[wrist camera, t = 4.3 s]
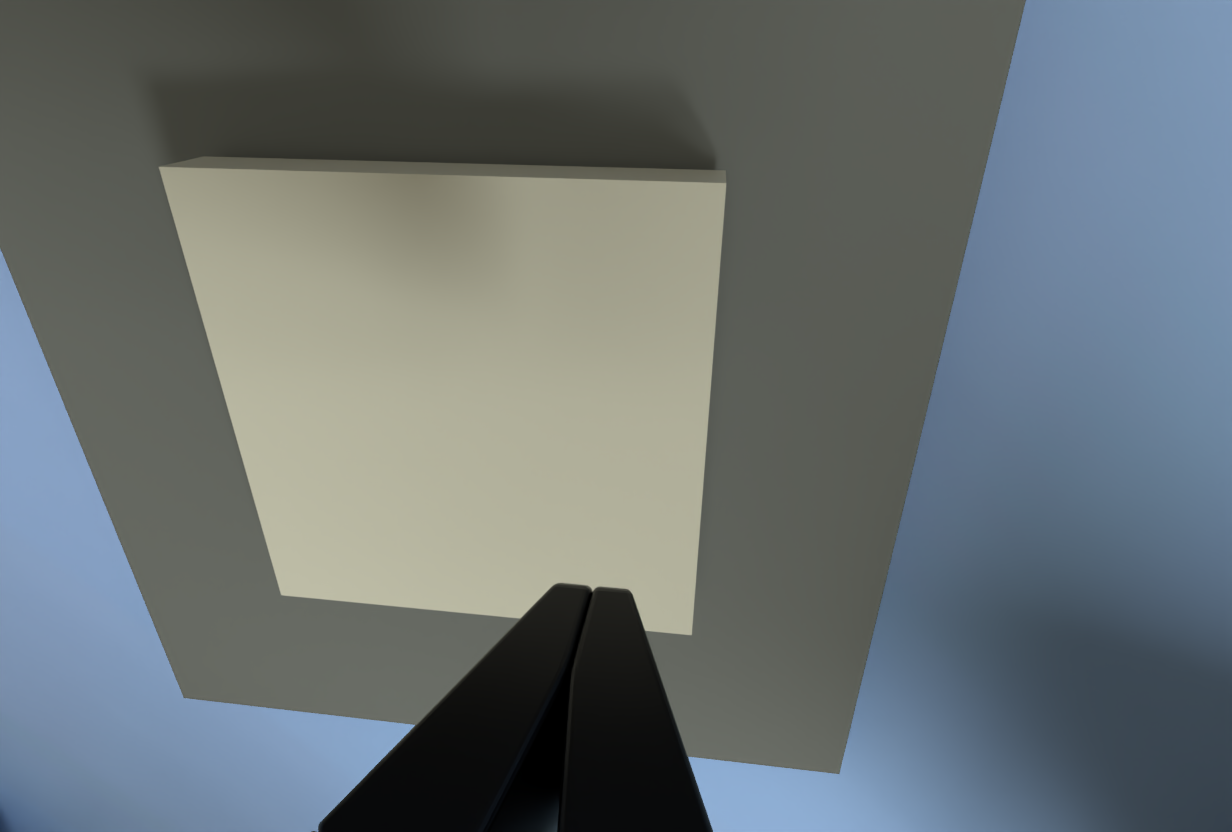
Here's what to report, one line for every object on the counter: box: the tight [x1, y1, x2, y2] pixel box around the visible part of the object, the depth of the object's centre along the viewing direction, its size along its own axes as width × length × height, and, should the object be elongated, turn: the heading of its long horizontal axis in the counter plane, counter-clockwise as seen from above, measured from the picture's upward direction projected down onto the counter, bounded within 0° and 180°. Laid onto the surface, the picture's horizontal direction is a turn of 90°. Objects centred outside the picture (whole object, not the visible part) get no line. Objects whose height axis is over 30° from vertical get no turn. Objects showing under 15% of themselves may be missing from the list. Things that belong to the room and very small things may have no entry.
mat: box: [0, 0, 1026, 774], centre depth 13 cm, size 16×18×1 cm
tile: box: [159, 156, 726, 635], centre depth 12 cm, size 1×8×8 cm
